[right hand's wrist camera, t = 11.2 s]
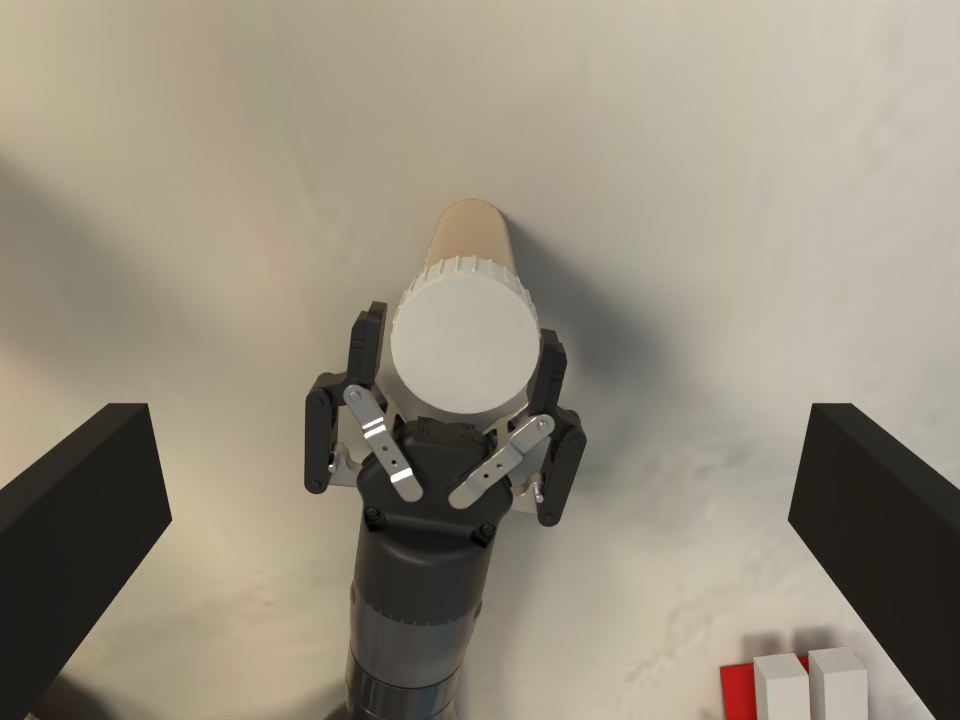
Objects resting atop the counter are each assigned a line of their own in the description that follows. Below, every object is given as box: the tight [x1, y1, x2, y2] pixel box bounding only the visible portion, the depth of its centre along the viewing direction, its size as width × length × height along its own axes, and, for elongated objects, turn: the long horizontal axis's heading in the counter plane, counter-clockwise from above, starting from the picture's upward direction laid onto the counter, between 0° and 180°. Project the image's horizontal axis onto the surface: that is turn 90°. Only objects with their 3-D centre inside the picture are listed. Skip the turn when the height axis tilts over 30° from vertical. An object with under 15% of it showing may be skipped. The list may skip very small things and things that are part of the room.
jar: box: [421, 200, 518, 277], centre depth 28 cm, size 4×4×17 cm
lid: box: [390, 255, 541, 414], centre depth 20 cm, size 5×5×2 cm
